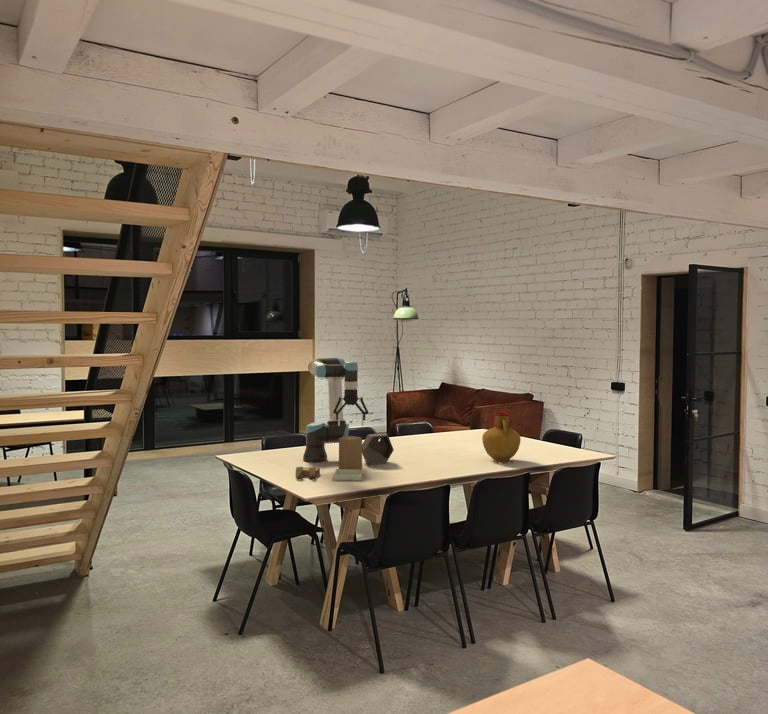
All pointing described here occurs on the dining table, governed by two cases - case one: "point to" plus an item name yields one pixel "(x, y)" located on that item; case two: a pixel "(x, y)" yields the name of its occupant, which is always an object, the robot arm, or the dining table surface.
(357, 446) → the block
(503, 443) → the vase
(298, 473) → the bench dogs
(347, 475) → the tray
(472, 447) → the dining table surface
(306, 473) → the wooden book-shaped slab
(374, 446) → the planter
